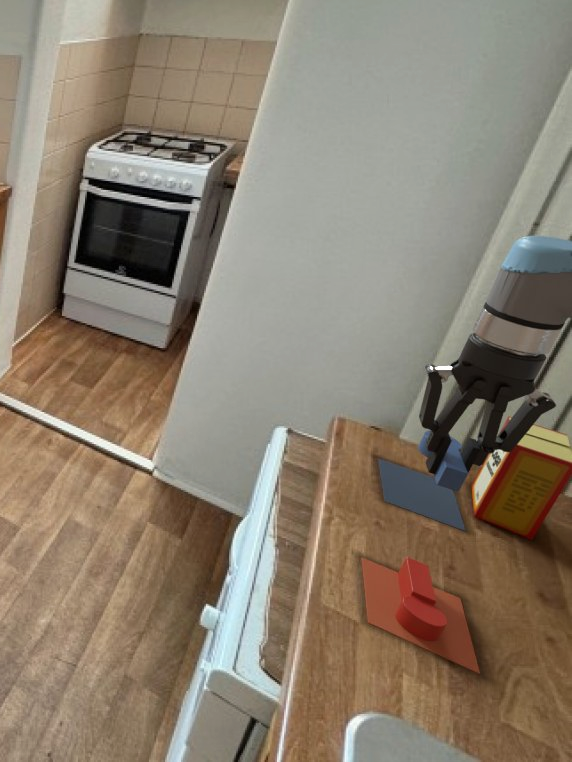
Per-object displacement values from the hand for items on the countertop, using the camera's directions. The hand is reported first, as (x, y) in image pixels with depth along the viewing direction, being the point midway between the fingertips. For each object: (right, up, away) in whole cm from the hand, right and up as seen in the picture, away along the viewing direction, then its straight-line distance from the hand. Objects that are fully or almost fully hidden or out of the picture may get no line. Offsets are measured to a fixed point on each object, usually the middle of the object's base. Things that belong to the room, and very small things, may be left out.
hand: (443, 472), depth 93 cm
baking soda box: (+18, -10, +8) cm, 22 cm away
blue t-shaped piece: (+1, 0, +2) cm, 2 cm away
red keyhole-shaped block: (-13, -16, -8) cm, 22 cm away
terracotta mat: (-13, -16, -8) cm, 23 cm away
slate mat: (+8, -9, +12) cm, 17 cm away
